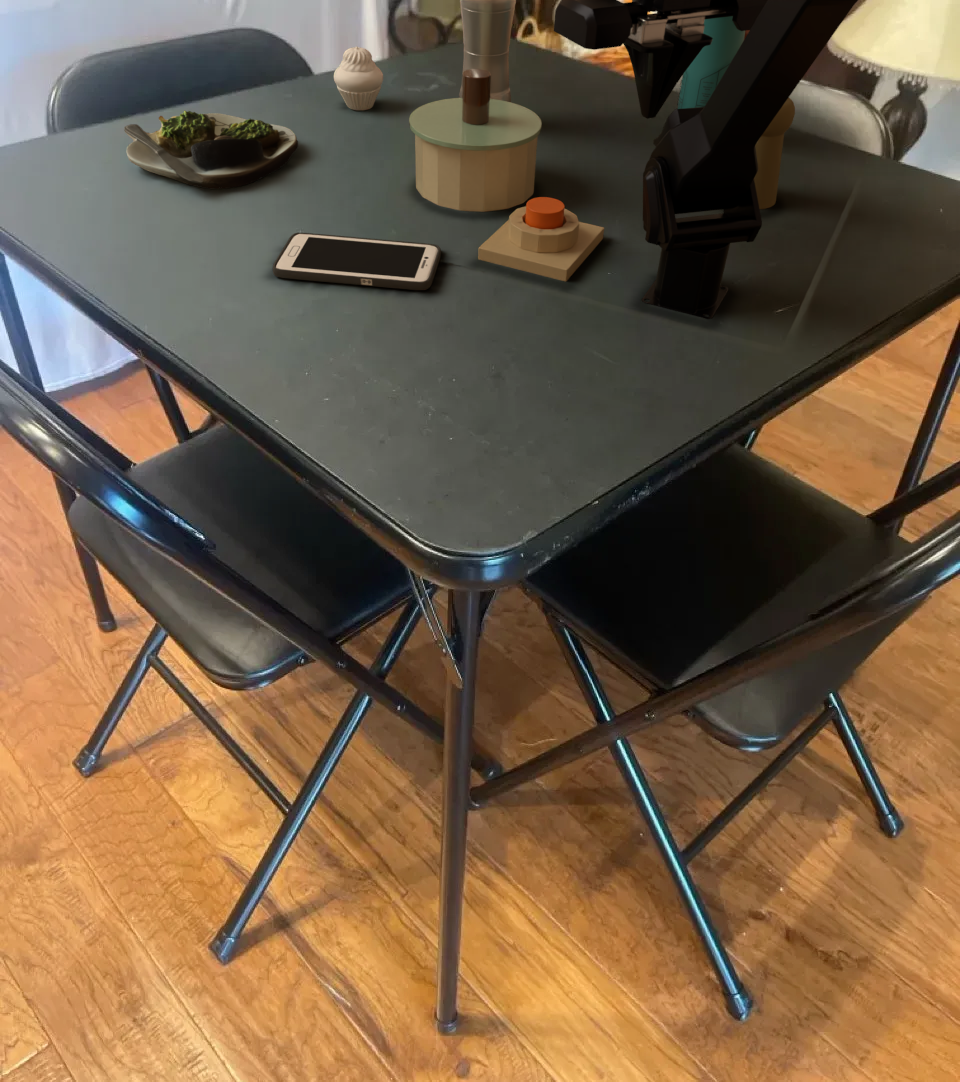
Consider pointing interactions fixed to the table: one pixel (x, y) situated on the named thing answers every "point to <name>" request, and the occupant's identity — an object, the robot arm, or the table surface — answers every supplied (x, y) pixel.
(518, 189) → the pot
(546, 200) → the button
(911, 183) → the table surface
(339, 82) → the muffin
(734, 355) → the table surface
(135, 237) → the table surface
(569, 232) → the control block
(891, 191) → the table surface
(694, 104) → the beverage bottle
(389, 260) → the cell phone
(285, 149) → the salad plate
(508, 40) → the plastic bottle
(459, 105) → the lid
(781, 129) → the cork
